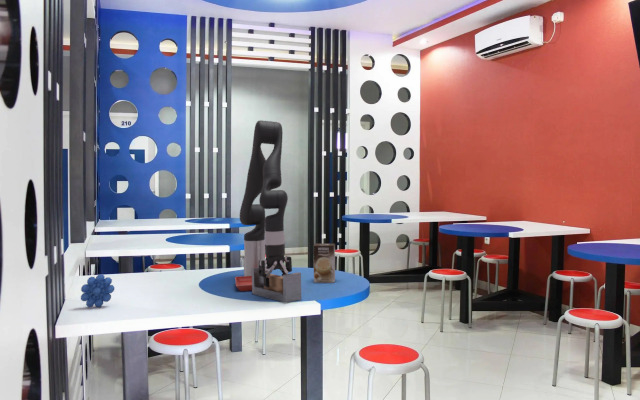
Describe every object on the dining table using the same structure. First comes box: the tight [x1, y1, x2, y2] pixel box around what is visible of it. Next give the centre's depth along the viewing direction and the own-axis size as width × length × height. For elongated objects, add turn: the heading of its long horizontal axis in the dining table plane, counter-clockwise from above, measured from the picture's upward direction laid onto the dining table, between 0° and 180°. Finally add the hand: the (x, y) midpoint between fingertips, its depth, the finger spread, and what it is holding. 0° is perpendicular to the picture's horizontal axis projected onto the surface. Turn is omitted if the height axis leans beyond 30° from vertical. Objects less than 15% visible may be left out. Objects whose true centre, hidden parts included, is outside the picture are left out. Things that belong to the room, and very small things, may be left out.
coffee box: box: [313, 243, 336, 284], centre depth 231 cm, size 9×6×16 cm
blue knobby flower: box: [80, 273, 115, 308], centre depth 195 cm, size 12×7×12 cm, turn 100°
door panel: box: [264, 273, 283, 292], centre depth 204 cm, size 12×3×8 cm, turn 41°
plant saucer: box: [234, 275, 252, 292], centre depth 224 cm, size 18×18×3 cm
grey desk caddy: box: [251, 265, 302, 304], centre depth 204 cm, size 22×7×10 cm, turn 41°
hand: (275, 285), depth 204 cm, fingers open, 8 cm apart
